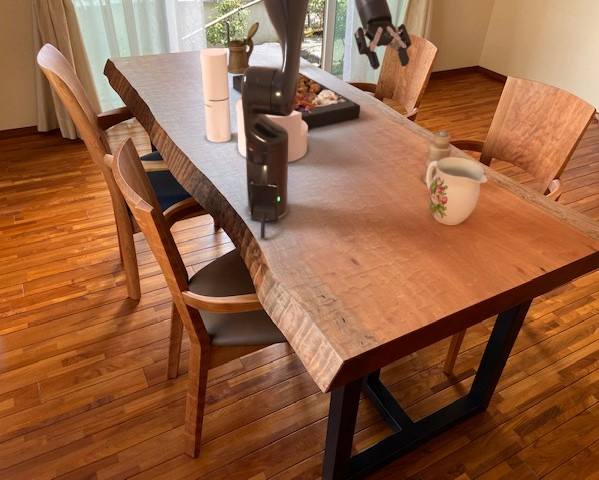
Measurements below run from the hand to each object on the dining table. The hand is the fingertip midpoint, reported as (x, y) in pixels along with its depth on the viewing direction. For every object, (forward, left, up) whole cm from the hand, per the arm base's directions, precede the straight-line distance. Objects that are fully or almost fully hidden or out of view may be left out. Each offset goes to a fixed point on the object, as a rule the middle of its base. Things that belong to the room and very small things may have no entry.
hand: (391, 66), depth 123 cm
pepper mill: (-7, -14, -27) cm, 31 cm away
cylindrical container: (+8, +48, -27) cm, 55 cm away
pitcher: (-25, -15, -27) cm, 40 cm away
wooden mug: (+74, +54, -27) cm, 95 cm away
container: (+4, +31, -27) cm, 41 cm away
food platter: (+42, +29, -27) cm, 58 cm away
